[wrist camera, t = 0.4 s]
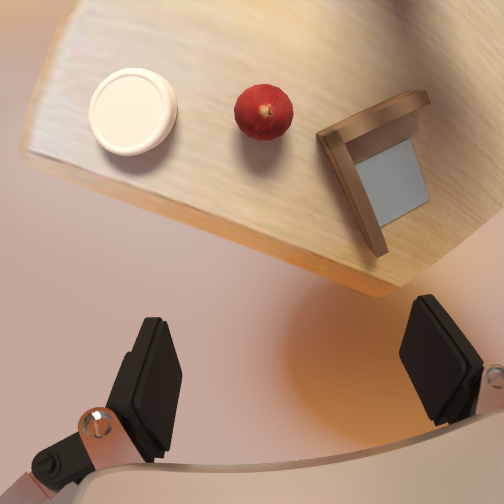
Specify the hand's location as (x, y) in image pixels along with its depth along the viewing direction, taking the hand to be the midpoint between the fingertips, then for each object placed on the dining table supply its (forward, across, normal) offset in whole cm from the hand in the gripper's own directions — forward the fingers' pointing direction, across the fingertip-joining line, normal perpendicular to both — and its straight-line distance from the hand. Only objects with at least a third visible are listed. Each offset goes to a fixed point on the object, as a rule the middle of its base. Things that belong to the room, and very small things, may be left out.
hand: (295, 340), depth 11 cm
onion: (+27, -1, -8) cm, 28 cm away
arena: (+27, -16, -1) cm, 31 cm away
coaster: (+27, +14, -10) cm, 32 cm away
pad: (+27, -17, +1) cm, 31 cm away
